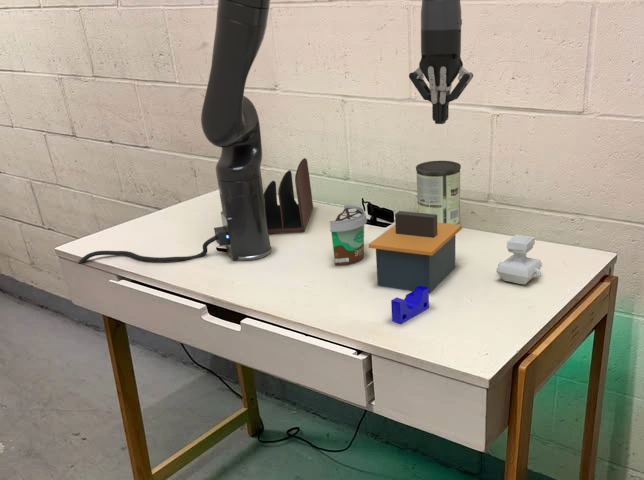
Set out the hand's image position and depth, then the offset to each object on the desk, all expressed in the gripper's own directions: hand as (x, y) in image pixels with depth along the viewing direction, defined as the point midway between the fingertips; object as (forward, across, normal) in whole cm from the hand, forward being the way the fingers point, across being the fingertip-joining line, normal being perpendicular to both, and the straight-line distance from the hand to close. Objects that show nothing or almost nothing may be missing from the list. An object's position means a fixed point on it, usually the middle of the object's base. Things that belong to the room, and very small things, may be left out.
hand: (440, 123), depth 138 cm
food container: (+27, -16, -9) cm, 33 cm away
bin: (+27, +1, -14) cm, 31 cm away
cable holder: (+28, +6, -31) cm, 42 cm away
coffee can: (+27, -7, +17) cm, 33 cm away
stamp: (+27, +20, -10) cm, 35 cm away
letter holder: (+27, -44, +9) cm, 52 cm away
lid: (+19, +1, -14) cm, 24 cm away
